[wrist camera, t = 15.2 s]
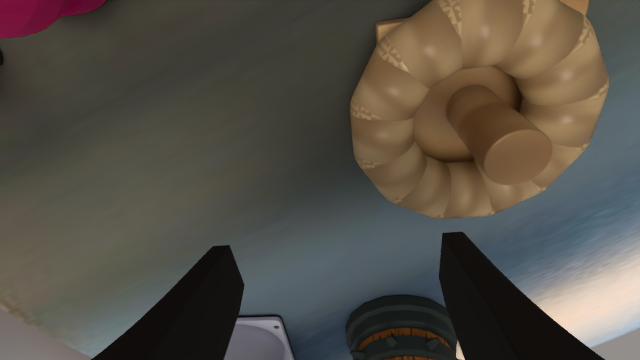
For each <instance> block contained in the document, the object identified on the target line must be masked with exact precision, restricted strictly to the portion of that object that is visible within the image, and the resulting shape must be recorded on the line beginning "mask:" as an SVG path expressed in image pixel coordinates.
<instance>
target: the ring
mask: <svg viewBox="0 0 640 360" xmlns="http://www.w3.org/2000/svg"><path fill="white" fill-rule="evenodd" d="M487 66H492V67H495V68H497V69H499V70H501V71H503V72H505V73H507V74H509V75H511V76H513V77H514V79H515V81H516V83H517V86H518V88H519V90H520V92H521V94H522V96H523V98H522V103H521V108H520V113H519V114H521V115H522V116H523V117H525V118H526V119H527V120H528V121H530V122H531V123H532V124H533V125H535V126H536V127H537V128H538V129H540V130H541V131H542V132H543V133H545V134H546V135H547V136H548V137H549V139H550V140H551V143H552V147H553V154H552V158H551V160H550V162H549V164H548V166H547V167H546V168H545V170H544V171H543V172H542V173H541V174H539V175H538V176H537V177H535V178H534V179H532V180H530V181H528V182H525V183H522V184H519V185H511V186H507V185H501V184H498V183H495V182H493V181H492V180H490V179H489V178H488V177H487V176H486V174H485V173H484V171H483V170H482V169H481V167H480V166H479V164H478V163H477V161H476V160H475V159H474V160H472V161H465V162H453V163H443V162H440V161H438V160H436V159H433V158H431V157H428V156H426V155H424V153H423V152H422V150H421V149H420V147H419V146H418V144H417V143H416V142H415V140H414V115H415V113H416V111H417V110H418V108H419V107H420V105H421V103H422V102H423V100H424V98H425V97H426V95H427V93H428V92H429V90H430V89H431V88H432V87H434V86H436V85H437V84H439V83H440V82H442V81H443V80H445V79H446V78H448V77H449V76H451V75H453V74H454V73H456V72H457V71H459V70H461V69H470V68H479V67H487ZM608 87H609V77H608V72H607V69H606V66H605V63H604V60H603V57H602V54H601V51H600V48H599V45H598V41H597V38H596V35H595V32H594V29H593V27H592V24H591V23H590V21H589V20H588V19H587V17H586V16H585V15H583V14H582V13H581V12H579V11H577V10H575V9H573V8H572V7H570V6H568V5H566V4H564V3H562V2H560V1H559V0H432V1H431V2H429V3H428V4H427V5H426V6H424V7H423V8H422V9H420V10H419V11H418V12H416V13H415V14H414V15H412V16H411V17H410V18H408V19H407V20H406V21H404V22H403V23H402V24H400V25H399V26H398V27H396V28H395V29H394V30H392V31H391V32H390V33H388V34H387V35H386V36H385V37H384V38H382V39H381V40H380V42H379V43H378V44H377V46H376V48H375V49H374V51H373V53H372V55H371V58H370V60H369V62H368V64H367V66H366V68H365V70H364V72H363V74H362V76H361V79H360V81H359V83H358V85H357V87H356V89H355V91H354V93H353V96H352V98H351V103H350V118H351V129H352V140H353V151H354V156H355V159H356V162H357V163H358V165H359V166H360V168H361V169H362V170H363V171H364V173H365V174H366V175H367V176H368V178H369V179H370V180H371V181H372V183H373V184H374V185H375V186H376V188H377V189H378V190H379V191H380V193H381V194H382V195H383V196H384V197H385V198H386V199H387V200H389V201H391V202H392V203H395V204H397V205H400V206H402V207H405V208H408V209H410V210H413V211H415V212H418V213H421V214H423V215H426V216H428V217H431V218H437V219H446V218H463V217H479V216H489V215H492V214H495V213H498V212H500V211H502V210H504V209H506V208H509V207H511V206H513V205H515V204H517V203H520V202H522V201H524V200H526V199H528V198H531V197H533V196H535V195H537V194H539V193H541V192H543V191H544V190H546V189H547V188H548V187H549V186H550V185H551V184H552V183H553V182H554V181H555V180H556V179H557V178H558V177H559V176H560V175H561V174H562V173H563V172H564V171H565V170H566V169H567V168H568V167H569V166H570V165H571V164H572V163H573V162H574V161H575V160H576V159H577V158H578V157H579V156H580V155H581V154H582V153H583V152H584V150H585V149H586V148H587V147H588V145H589V143H590V141H591V139H592V136H593V133H594V130H595V128H596V125H597V122H598V119H599V116H600V113H601V110H602V107H603V104H604V101H605V98H606V95H607V92H608Z"/></svg>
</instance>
